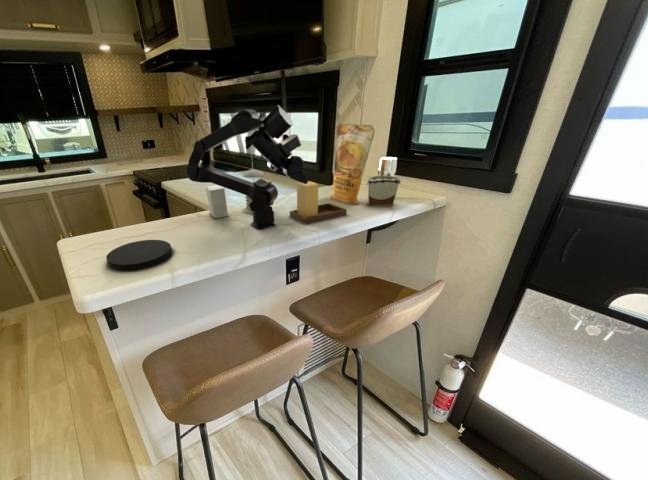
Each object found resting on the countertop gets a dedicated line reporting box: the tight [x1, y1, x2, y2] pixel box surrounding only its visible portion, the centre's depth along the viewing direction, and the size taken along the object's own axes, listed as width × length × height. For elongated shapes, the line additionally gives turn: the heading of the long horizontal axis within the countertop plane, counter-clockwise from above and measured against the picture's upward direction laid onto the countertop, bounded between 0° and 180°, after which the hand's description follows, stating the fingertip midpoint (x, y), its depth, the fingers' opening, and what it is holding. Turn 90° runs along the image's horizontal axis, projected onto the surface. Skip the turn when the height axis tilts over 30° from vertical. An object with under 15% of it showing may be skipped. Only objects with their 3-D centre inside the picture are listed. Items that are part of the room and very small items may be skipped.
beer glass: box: [377, 156, 398, 177], centre depth 129 cm, size 7×7×15 cm
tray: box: [289, 202, 347, 225], centre depth 114 cm, size 18×11×2 cm, turn 117°
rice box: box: [296, 180, 319, 218], centre depth 109 cm, size 5×6×12 cm
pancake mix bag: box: [332, 123, 376, 205], centre depth 123 cm, size 7×19×28 cm, turn 27°
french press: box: [242, 150, 265, 215], centre depth 118 cm, size 10×12×25 cm
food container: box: [366, 175, 401, 207], centre depth 121 cm, size 12×6×10 cm, turn 84°
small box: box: [205, 184, 229, 219], centre depth 120 cm, size 8×6×10 cm
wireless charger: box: [105, 239, 173, 272], centre depth 90 cm, size 18×18×2 cm
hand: (300, 180), depth 105 cm, fingers open, 9 cm apart
